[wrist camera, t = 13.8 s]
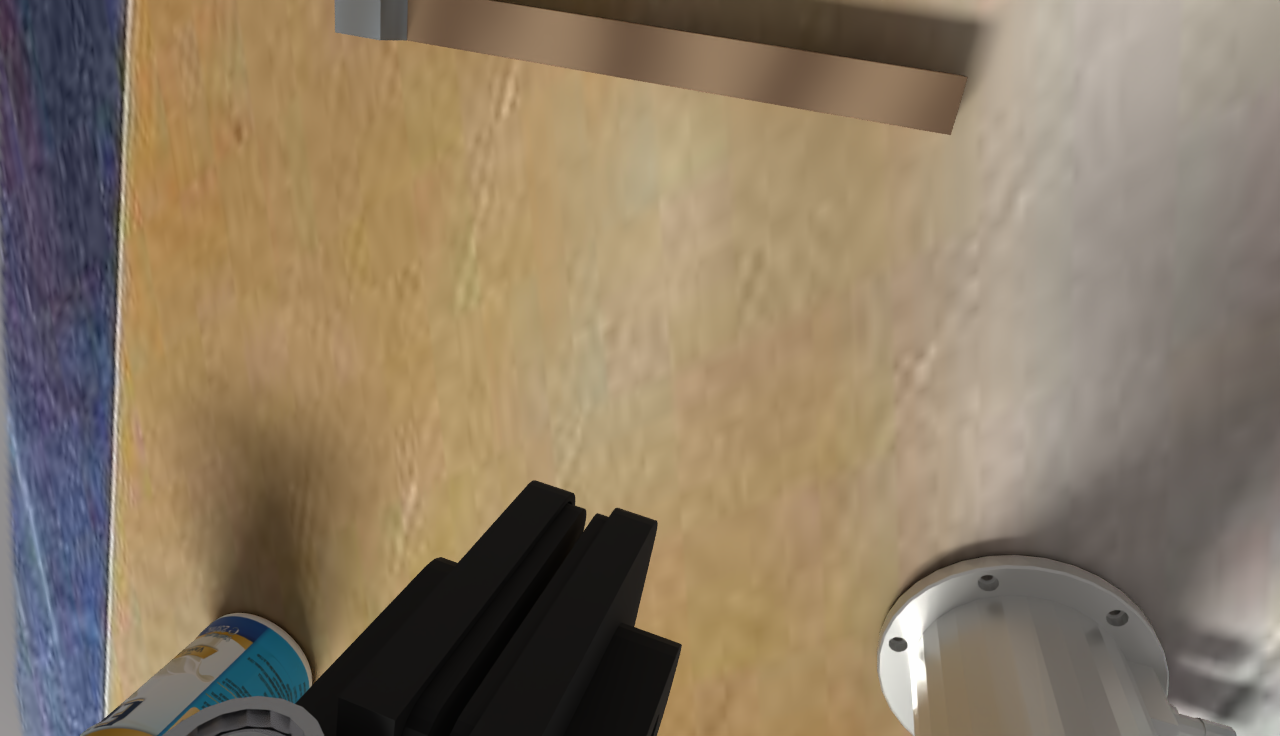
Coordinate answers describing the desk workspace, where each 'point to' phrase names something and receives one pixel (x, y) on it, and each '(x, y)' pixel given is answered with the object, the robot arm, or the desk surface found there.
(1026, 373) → the desk surface
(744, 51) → the channel
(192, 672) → the beverage bottle
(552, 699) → the robot arm
